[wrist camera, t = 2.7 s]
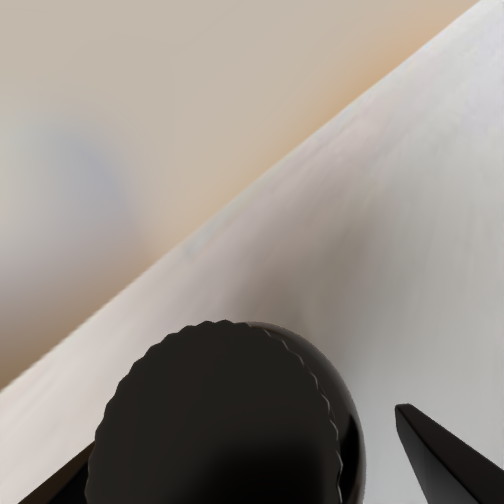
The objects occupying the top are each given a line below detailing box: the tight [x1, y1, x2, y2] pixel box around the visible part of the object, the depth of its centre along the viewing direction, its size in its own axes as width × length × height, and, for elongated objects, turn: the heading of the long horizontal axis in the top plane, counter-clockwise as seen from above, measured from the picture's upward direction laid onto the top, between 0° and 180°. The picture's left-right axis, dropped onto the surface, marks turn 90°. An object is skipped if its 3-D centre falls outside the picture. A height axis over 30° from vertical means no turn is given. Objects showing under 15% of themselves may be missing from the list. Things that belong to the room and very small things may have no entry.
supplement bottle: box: [84, 319, 366, 504], centre depth 10 cm, size 7×7×12 cm
